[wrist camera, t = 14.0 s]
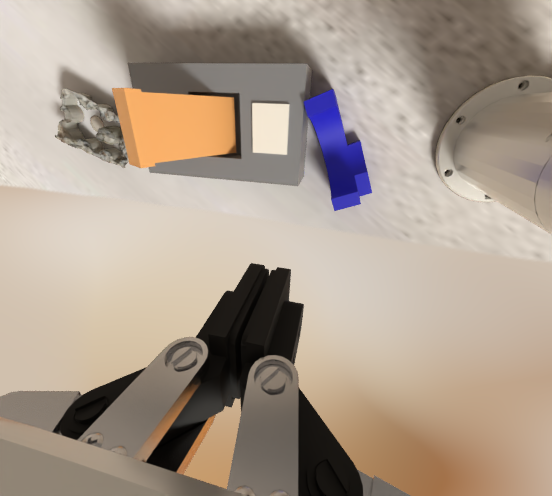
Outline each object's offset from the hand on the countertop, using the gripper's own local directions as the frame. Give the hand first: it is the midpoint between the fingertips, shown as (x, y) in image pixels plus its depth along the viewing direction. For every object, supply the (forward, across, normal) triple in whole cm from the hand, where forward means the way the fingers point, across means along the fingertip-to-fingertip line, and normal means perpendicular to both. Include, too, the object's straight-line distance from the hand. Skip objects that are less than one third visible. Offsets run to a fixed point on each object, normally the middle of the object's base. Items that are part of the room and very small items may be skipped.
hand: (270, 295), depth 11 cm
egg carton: (+28, +32, -3) cm, 42 cm away
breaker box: (+27, +12, -5) cm, 30 cm away
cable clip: (+28, -2, -3) cm, 28 cm away
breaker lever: (+24, +11, -5) cm, 27 cm away
